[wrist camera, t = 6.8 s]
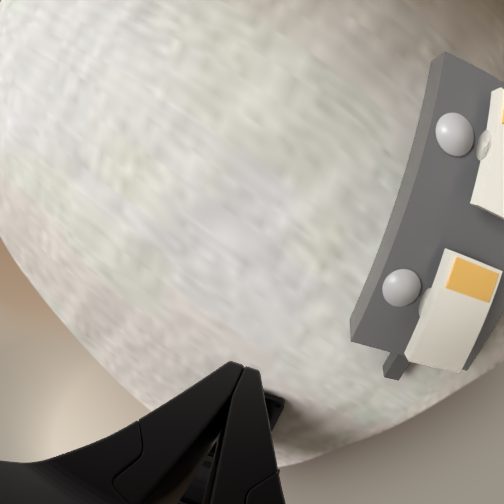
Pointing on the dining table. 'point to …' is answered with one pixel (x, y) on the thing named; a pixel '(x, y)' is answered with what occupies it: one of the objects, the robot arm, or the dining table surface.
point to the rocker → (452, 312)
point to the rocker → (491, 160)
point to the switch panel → (433, 215)
